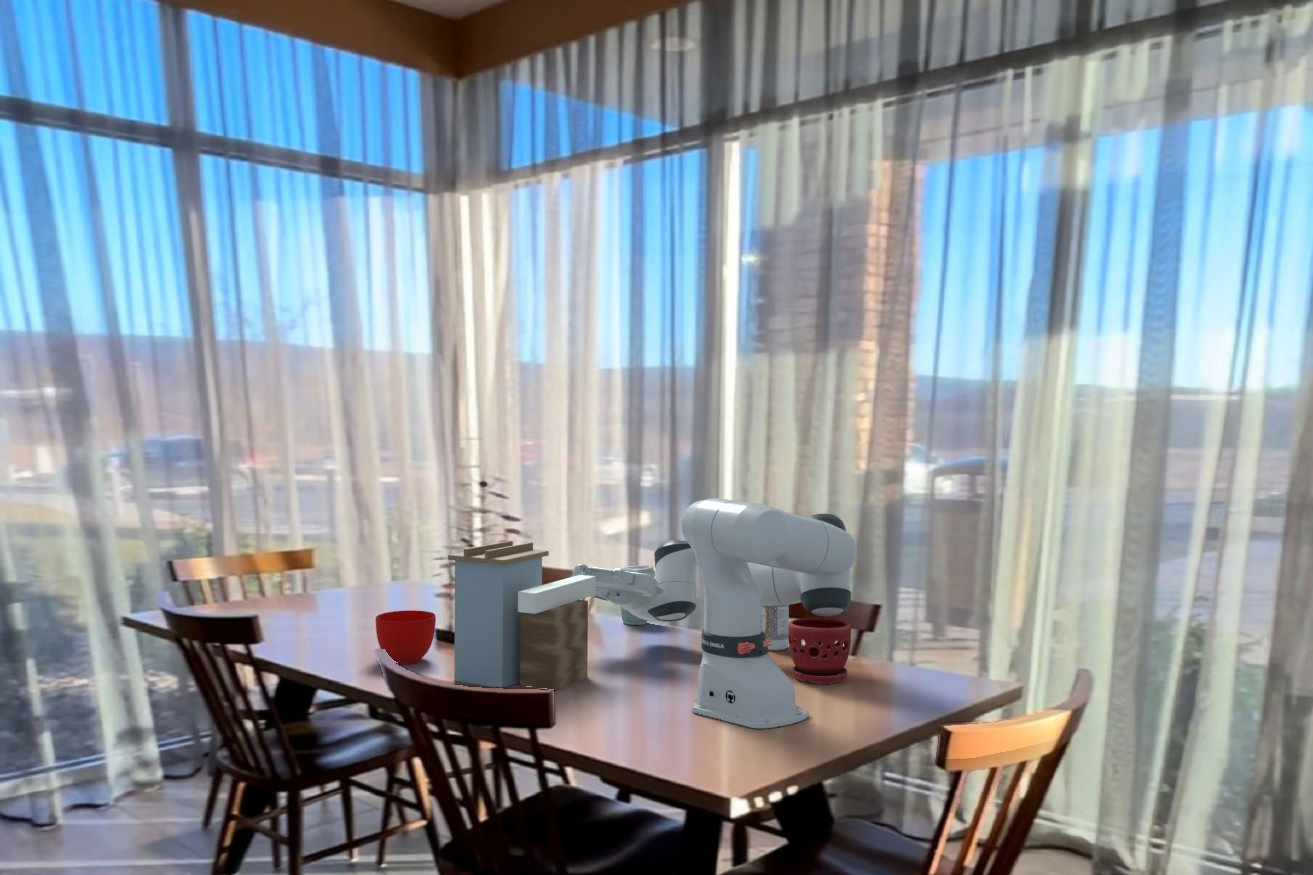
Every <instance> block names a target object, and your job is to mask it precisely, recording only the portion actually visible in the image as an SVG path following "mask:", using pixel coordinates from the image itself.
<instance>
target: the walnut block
mask: <svg viewBox="0 0 1313 875" xmlns="http://www.w3.org/2000/svg"><path fill="white" fill-rule="evenodd" d="M588 625H589V601H588V600H584V599H580V600H577V601H574V602H571V603H568V604H565V605H561V606H558V607H555V608H552V609H549V610H546V611H543V612H539V613H536V614H532V613H523V612H521V613H520V682H519V686H520V687H523V686H532V687H533V688H532V689H535V688H547V689H554V690H555V691H557V690H560V689H562V688H565V687H566V686H568V685H572V684H573V683H575V682H579V681H580V680H583V679H585V678H587V677H588V662H589V661H588V655H589V654H588V652H589V650H588V649H589V647H588V642H589V640H588V638H589V637H588V635H589V634H588V632H589V630H588V629H589V627H588Z"/></svg>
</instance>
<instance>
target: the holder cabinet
mask: <svg viewBox="0 0 1313 875" xmlns="http://www.w3.org/2000/svg"><path fill="white" fill-rule="evenodd" d="M549 552H550V551H549V550H545V549H544V550H543V549H534V542H531V541H530V542H526V543H525V542H524V543H519V544H514V540H506V541H501V542H495V543H489V544H483V545H479V546H473V547H468V548H463V551H462V552H457V553H456V552H455V553H451V554H447V560H448V561H454V660H453V661H454V666H453V667H454V670H453V672H454V682H460V683H467V684H472V685H479V686H486V687H489V688H490V687H491V688H496V687H505V688H507V687H510V686H512V685H515V684H517V683H520V613H521V612H518V592H519V591H523V590H526V589H530V588H533V587H537V586H541V585H543V557H548V556H549V555H550V553H549Z"/></svg>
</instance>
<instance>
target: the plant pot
mask: <svg viewBox="0 0 1313 875" xmlns="http://www.w3.org/2000/svg"><path fill="white" fill-rule="evenodd" d="M802 641H804V644H802ZM851 641H852V625H851V623H850V622H847V621H845V620H842V619H835V618H828V617H827V618H826V617H825V618H824V617H810V618H808V617H807V618H806V617H805V618H797V619H793V620H790V621H789V623H788V648H789V653H790V657H791V660H792V662H793V664H794V666H793V667H792V668H791V673H792V675H793V676H794V677H795V678H796V679H798V680H800V681H803V682H806V683H808V684H809V683H810V684H816V685H817V684H820V685H821V684H822V685H823V684H824V685H830V684H834V683H838V682H841V681H843V680H844V679H846V678H847V676H848V673H849V672H848V669H847V668H846V667H845V666H846V663H847V661H848V659H849V656H850V651H851V644H852V643H851Z"/></svg>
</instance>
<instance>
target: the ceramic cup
mask: <svg viewBox="0 0 1313 875" xmlns="http://www.w3.org/2000/svg"><path fill="white" fill-rule="evenodd" d="M436 616H437V615H436V614H435V613H434V612H430V611H426V610H413V609H412V610H411V609H410V610H409V609H408V610H395V611H388V612H384V613H383V612H382V613H380V614H378V615H376V616H375V631H376V638H377V642H378V645H379V646H378V647H379V648H380V650H381V649H385V650H386V652H387V653H388V655H389V656H390V657H391V658H392V659H393V660H394V661H396V662H398V664H397V665H410V664H411V665H412V664H416V663H419V662H421V661H422V660H423V658H424V657H425V656H426V655H427V653H428V652H429V650H430V648H431V646H432V645H433V641H434V637H435V633H436V619H437V617H436Z"/></svg>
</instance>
